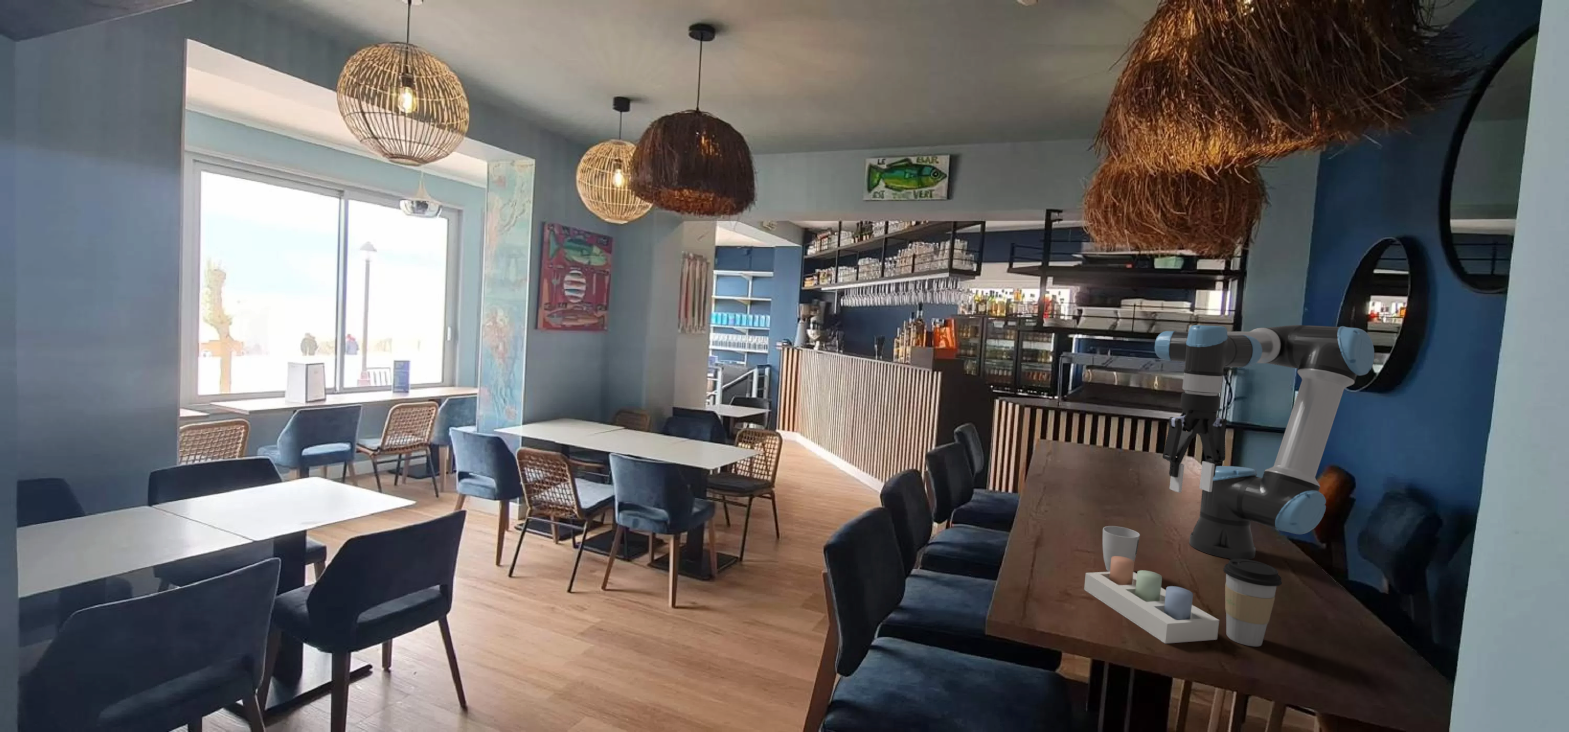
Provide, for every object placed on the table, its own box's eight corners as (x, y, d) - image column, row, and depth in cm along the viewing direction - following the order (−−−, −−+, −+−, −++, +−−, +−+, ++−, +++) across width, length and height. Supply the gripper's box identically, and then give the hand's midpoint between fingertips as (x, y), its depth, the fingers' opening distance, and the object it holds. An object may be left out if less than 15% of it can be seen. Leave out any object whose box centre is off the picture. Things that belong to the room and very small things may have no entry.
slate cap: (1177, 609, 135) (1180, 585, 135) (1195, 619, 131) (1198, 595, 130) (1158, 610, 134) (1160, 586, 134) (1176, 621, 130) (1178, 596, 129)
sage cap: (1148, 592, 143) (1150, 569, 143) (1164, 601, 139) (1167, 578, 138) (1130, 593, 142) (1132, 570, 142) (1146, 602, 138) (1148, 579, 137)
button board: (1129, 587, 154) (1131, 570, 153) (1217, 639, 130) (1219, 619, 130) (1084, 589, 151) (1085, 572, 151) (1165, 643, 128) (1167, 623, 127)
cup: (1140, 579, 158) (1144, 539, 158) (1104, 575, 160) (1107, 535, 159) (1130, 566, 166) (1133, 527, 165) (1095, 562, 168) (1099, 524, 167)
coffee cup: (1205, 627, 135) (1213, 556, 134) (1248, 627, 136) (1256, 557, 135) (1240, 651, 126) (1249, 575, 124) (1286, 651, 127) (1295, 576, 125)
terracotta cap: (1122, 576, 151) (1124, 555, 150) (1137, 585, 146) (1139, 563, 146) (1104, 577, 150) (1106, 556, 149) (1119, 586, 145) (1121, 564, 145)
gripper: (1224, 391, 157) (1213, 485, 159) (1150, 389, 152) (1140, 486, 155) (1252, 395, 150) (1241, 494, 152) (1175, 394, 145) (1165, 495, 147)
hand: (1190, 490), depth 153 cm, fingers open, 8 cm apart
